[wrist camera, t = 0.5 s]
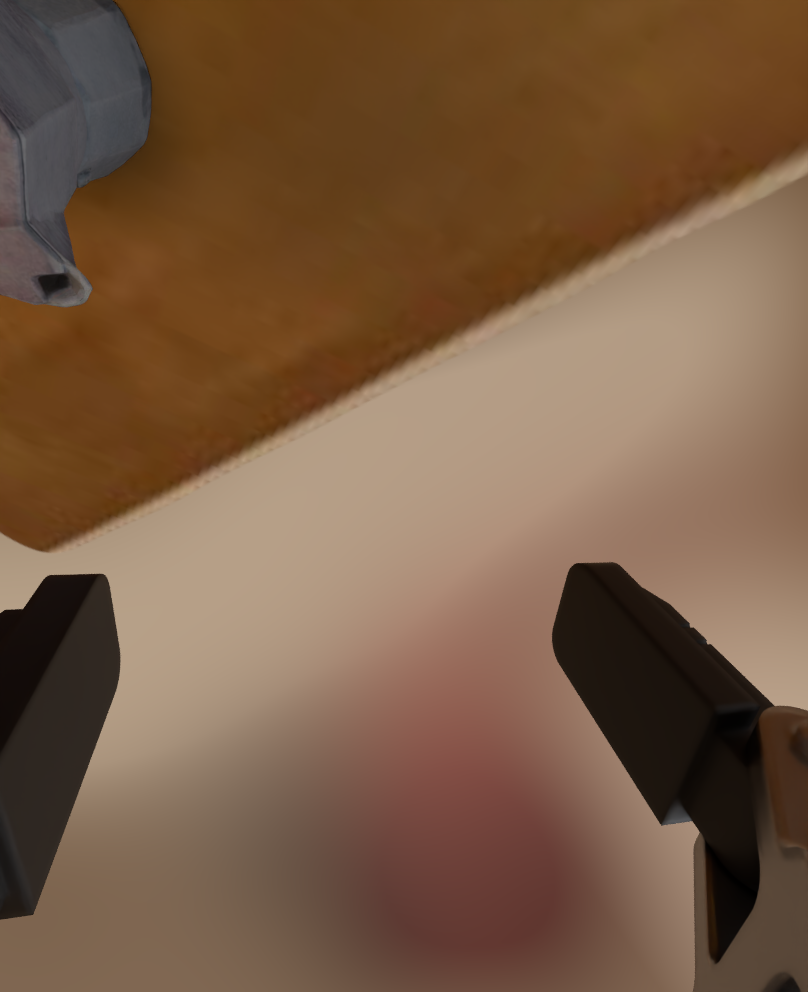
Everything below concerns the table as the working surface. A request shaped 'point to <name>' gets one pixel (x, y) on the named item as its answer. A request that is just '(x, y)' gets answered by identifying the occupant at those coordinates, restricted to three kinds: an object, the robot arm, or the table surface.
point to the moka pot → (61, 132)
